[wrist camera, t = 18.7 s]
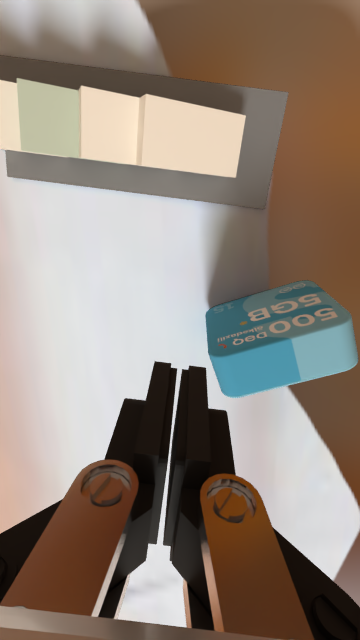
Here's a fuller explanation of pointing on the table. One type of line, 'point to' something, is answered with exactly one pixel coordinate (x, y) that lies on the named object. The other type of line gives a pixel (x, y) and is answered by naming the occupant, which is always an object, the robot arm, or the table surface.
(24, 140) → the domino
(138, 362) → the table surface
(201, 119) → the domino
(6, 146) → the domino
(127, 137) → the domino
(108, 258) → the table surface
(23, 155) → the domino mat
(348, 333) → the data package
